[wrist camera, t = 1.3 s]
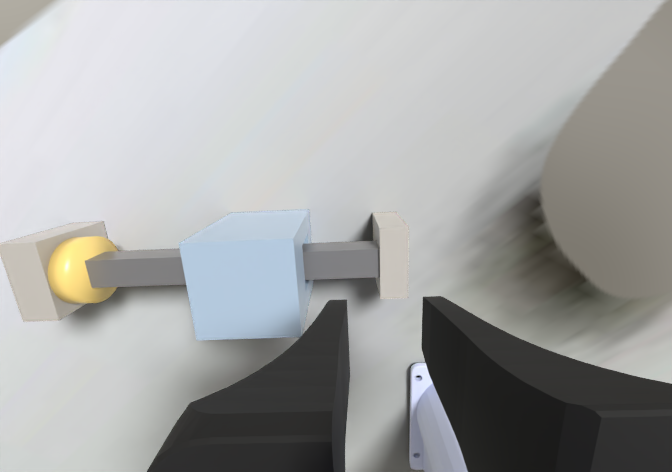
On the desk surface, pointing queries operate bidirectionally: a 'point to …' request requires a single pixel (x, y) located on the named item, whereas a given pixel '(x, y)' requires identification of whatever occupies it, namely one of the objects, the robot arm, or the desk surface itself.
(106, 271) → the grey bar rail
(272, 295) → the light blue sliding block
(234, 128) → the desk surface
